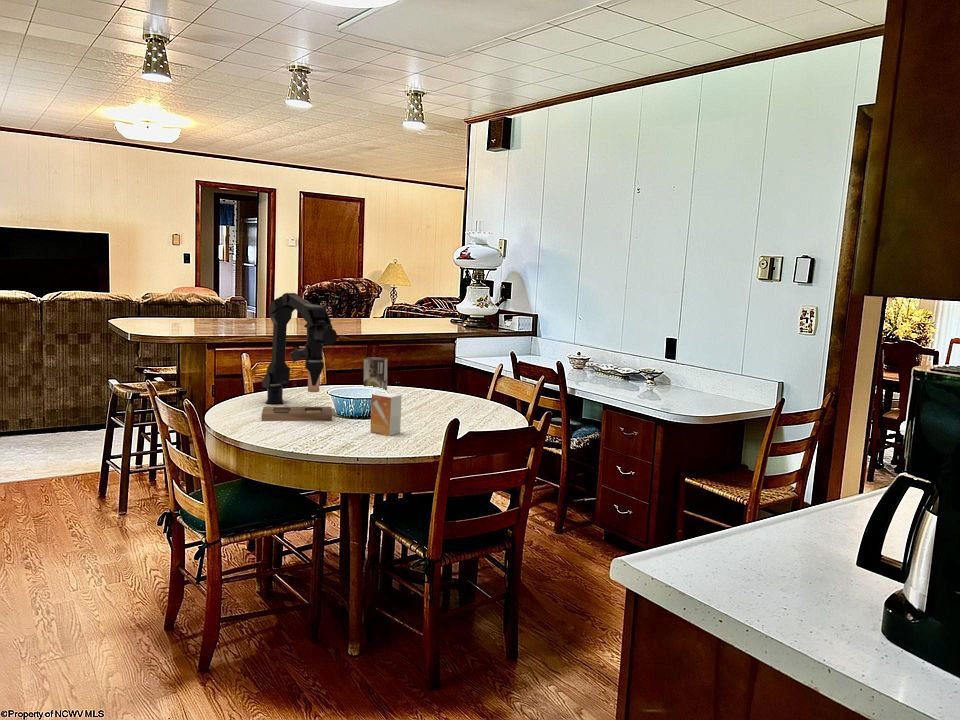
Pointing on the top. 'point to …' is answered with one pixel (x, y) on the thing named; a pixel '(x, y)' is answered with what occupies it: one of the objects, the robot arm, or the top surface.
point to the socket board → (297, 414)
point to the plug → (310, 387)
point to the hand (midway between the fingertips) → (313, 384)
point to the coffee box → (375, 372)
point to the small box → (386, 413)
